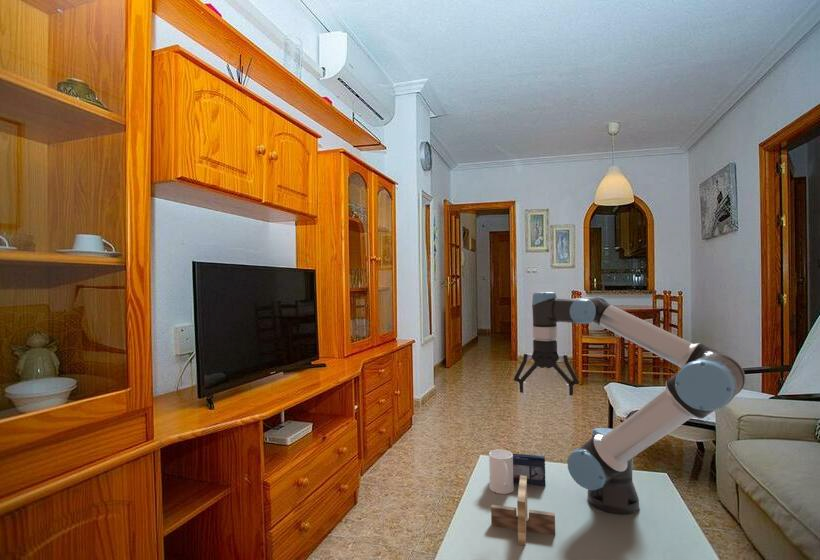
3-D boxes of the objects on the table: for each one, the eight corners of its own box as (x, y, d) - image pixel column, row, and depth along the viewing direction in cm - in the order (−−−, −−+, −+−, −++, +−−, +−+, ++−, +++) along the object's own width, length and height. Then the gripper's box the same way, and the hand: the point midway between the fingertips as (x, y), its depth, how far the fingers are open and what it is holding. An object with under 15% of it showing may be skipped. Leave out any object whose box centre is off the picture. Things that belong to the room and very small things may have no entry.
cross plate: (525, 545, 121) (524, 501, 121) (518, 544, 122) (517, 500, 122) (527, 514, 136) (526, 476, 136) (520, 513, 137) (520, 475, 137)
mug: (518, 498, 146) (518, 462, 146) (493, 499, 146) (492, 463, 146) (511, 482, 158) (510, 448, 158) (487, 482, 158) (486, 449, 158)
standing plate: (555, 531, 127) (554, 512, 127) (555, 535, 126) (554, 515, 125) (492, 522, 132) (491, 504, 132) (491, 525, 131) (491, 507, 131)
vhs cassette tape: (492, 481, 159) (491, 453, 159) (493, 477, 162) (492, 450, 162) (545, 487, 154) (545, 459, 154) (545, 483, 156) (545, 455, 156)
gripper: (584, 338, 144) (586, 402, 145) (507, 336, 152) (508, 398, 152) (586, 341, 137) (588, 409, 137) (505, 339, 145) (506, 404, 145)
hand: (546, 403), depth 145 cm, fingers open, 13 cm apart
